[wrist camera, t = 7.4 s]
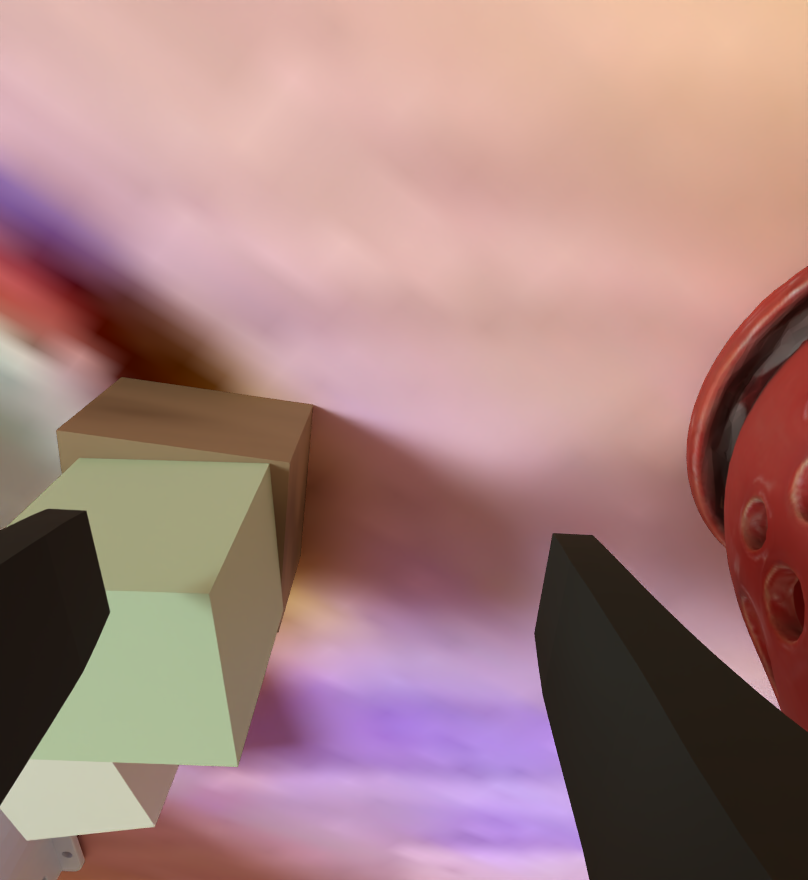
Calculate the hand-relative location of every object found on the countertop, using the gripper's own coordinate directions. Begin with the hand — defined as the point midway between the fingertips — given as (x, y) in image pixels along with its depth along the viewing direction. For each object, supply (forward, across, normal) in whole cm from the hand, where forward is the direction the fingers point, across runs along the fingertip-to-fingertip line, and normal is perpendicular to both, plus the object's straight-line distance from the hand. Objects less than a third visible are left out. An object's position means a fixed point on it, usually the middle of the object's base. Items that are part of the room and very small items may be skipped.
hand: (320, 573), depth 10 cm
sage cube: (+6, +5, +4) cm, 9 cm away
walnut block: (+10, +5, +4) cm, 12 cm away
